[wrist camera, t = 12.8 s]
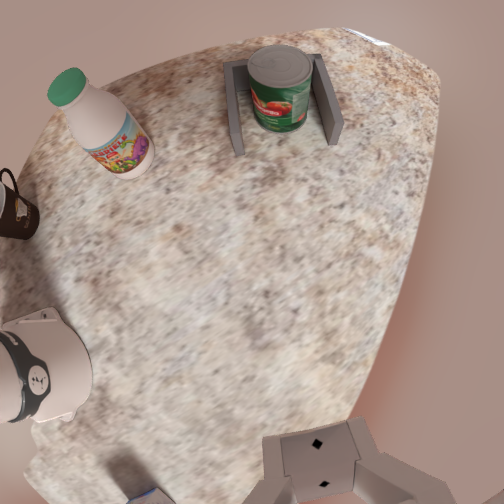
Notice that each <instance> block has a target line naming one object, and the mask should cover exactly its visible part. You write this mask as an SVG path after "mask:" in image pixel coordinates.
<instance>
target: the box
mask: <svg viewBox="0 0 504 504" xmlns="http://www.w3.org/2000/svg"><path fill="white" fill-rule="evenodd" d="M307 55H308V56H309V58H310V59H311V61H312V65H313V70H312V75H311V84H312V87H313V90H314V94H315V97H316V101H317V104H318V108H319V111H320V115H321V118H322V122H323V126H324V130H325V133H326V137H327V141H328V145H337V142H338V139H339V136H340V134H341V131H342V128H343V125H344V120H343V117H342V114H341V110H340V107H339V104H338V101H337V98H336V95H335V92H334V89H333V86H332V83H331V81H330V78H329V75H328V72H327V69H326V67H325V64H324V61H323V59H322V56H321V54H307ZM248 60H249V59H246V60H238V61H232V62H225V63H223V67H224V78H225V88H226V98H227V108H228V118H229V128H230V135H231V139H232V143H233V146H234V150H235V153H236V156H238V155H245V153H244V145H243V137H242V129H241V121H240V113H239V105H238V97H237V91H243V90H250V89H251V86H250V79H249V71H248V66H247V65H248Z"/></svg>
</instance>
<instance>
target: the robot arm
mask: <svg viewBox="0 0 504 504" xmlns="http://www.w3.org/2000/svg"><path fill="white" fill-rule="evenodd" d="M46 316H47V317H46ZM91 387H92V368H91V363H90V360H89V356H88V354H87V351H86V349H85V347H84V345H83V343H82V341H81V340H80V338H79V337H78V336H77V335H76V333H75V332H74V331H73V330H72V329H71V328H69V327H68V326H67V325H66V324H65V323H64V322H63V321H62V319H61V317H60V315H59V313H58V312H57V310H56V309H55V308H54V307H48V308H45V309H42V310H39V311H36V312H34V313H31V314H28V315H25V316H23V317H20V318H17V319H14V320H12V321H9V322H6V323H4V324H3V326H2V330H0V424H1V423H4V422H11V423H13V422H20V421H23V420H26V419H28V418H31V419H32V420H35V421H36V422H38V423H41V422H45V421H48V420H51V419H54V418H59V419H61V420H63V421H66V422H68V421H71V420H73V418H74V416H75V413H76V410H77V409H78V407H80V406H81V405H82V404H83V403H84V402H85V401H86V400H87V398H88V396H89V394H90V391H91ZM262 448H263V464H264V480H259V482H258V483H257V484H256V486H255V487H254V488H253V490H252V491H251V492H250V494H249V495H248V496H247V498H246V499H245V500H244V502H243V503H242V504H297V503H300V502H306V501H310V500H314V499H319V498H323V497H327V496H332V495H337V494H341V493H346V492H350V491H353V492H354V493H355V494H357V495H358V496H359V497H360V498H362V499H363V500H364V501H366V502H367V503H368V504H457V503H456V501H455V499H454V497H453V495H452V494H451V492H450V490H449V488H448V486H447V484H446V483H445V482H444V481H442V480H439V479H437V478H435V477H432V476H431V475H428V474H426V473H424V472H422V471H420V470H418V469H416V468H414V467H412V466H410V465H408V464H406V463H404V462H402V461H400V460H398V459H396V458H394V457H392V456H391V455H389V454H387V453H385V452H384V453H381V454H380V453H379V451H378V449H377V446H376V444H375V442H374V439H373V437H372V435H371V433H370V431H369V428H368V426H367V424H366V422H365V419H364V417H362V416H359V417H355V418H352V419H348V420H343V421H340V422H336V423H332V424H328V425H324V426H320V427H316V428H313V429H309V430H303V431H298V432H292V433H285V434H279V435H273V436H266V437H263V439H262ZM482 504H504V489H503V490H502V491H500V492H499V493H498V494H496V495H494V496H493V497H491V498H490V499H488V500H487V501H485V502H484V503H482Z"/></svg>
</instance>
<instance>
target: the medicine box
mask: <svg viewBox="0 0 504 504" xmlns="http://www.w3.org/2000/svg"><path fill="white" fill-rule="evenodd" d="M126 504H175V503H174V502H173V501H172V500H171V499H170V498H168V497H167V496H166V495H165V494H164V493H163V492H162V491H161V490H160V489H159V488H155V489H153V490H151V491H149V492H147V493H145V494H143V495H140V496H138V497H136V498H134V499H132V500H129V501H128V502H127V503H126Z"/></svg>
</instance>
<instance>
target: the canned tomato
mask: <svg viewBox="0 0 504 504" xmlns="http://www.w3.org/2000/svg"><path fill="white" fill-rule="evenodd" d="M247 66H248V71H249V79H250V86H251V93H252V100H253V107H254V116H255V119H256V121H257V123H258V124H259V125H260V126H261V127H262V128H263V129H265V130H266V131H268V132H271V133H275V134H288V133H292V132H294V131H297V130H298V129H299V128H301V127H302V126H303V125H304V123H305V121H306V118H307V110H308V101H309V94H310V84H311V75H312V70H313V65H312V61H311V59H310V58H309V56H308V55H307V54H306V53H304V52H303V51H301V50H299V49H297V48H295V47H292V46H288V45H270V46H266V47H263V48H261V49H259V50H257V51H256V52H254V53H253V54H252V55H251V57H250V58H249V60H248V65H247Z"/></svg>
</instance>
